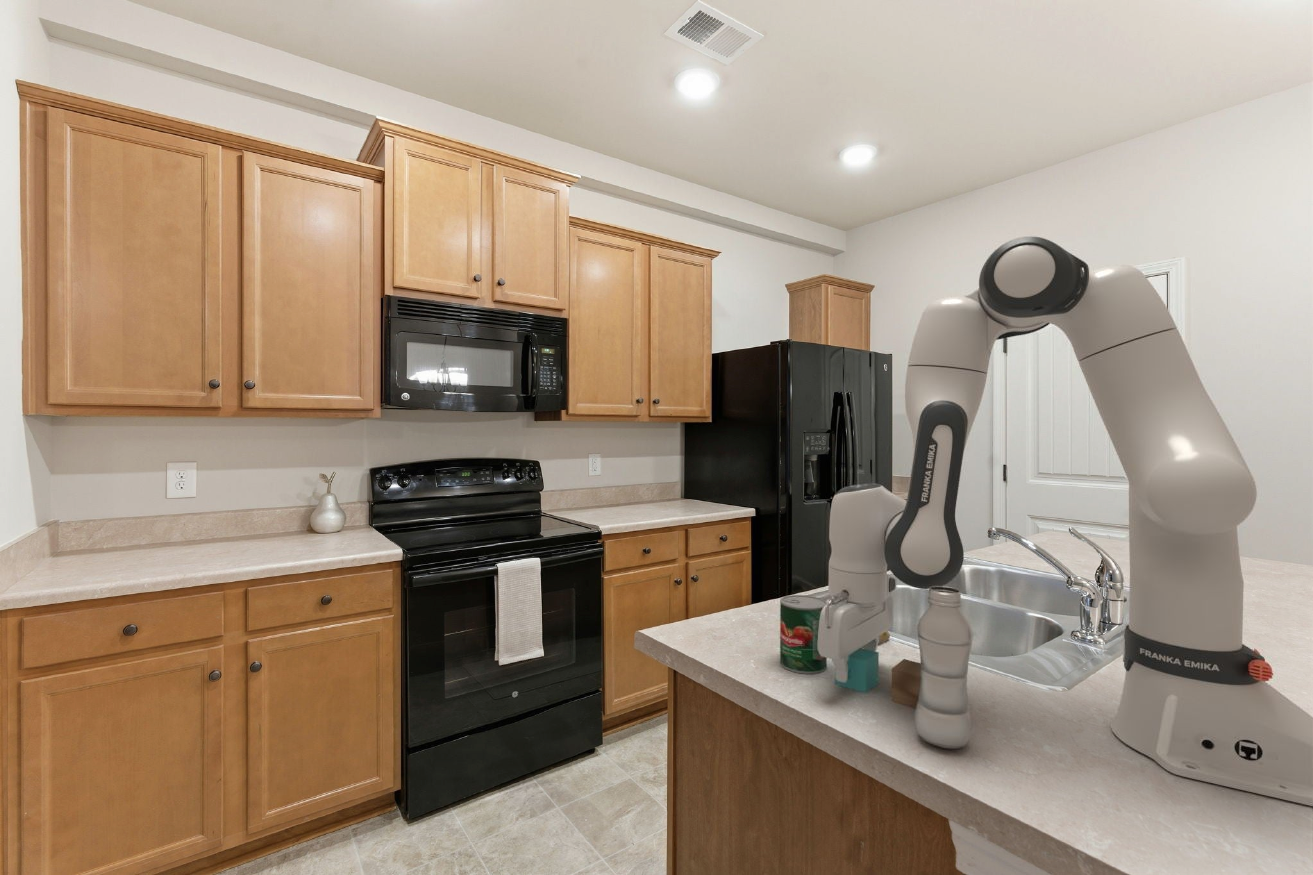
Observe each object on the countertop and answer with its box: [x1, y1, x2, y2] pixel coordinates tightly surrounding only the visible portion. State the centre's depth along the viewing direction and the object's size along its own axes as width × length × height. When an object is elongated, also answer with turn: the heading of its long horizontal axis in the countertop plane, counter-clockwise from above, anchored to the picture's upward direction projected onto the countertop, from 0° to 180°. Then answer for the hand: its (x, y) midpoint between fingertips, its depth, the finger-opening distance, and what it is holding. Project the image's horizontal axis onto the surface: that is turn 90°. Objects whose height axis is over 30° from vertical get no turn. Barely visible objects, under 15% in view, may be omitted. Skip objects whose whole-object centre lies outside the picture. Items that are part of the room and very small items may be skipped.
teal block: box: [834, 647, 880, 694], centre depth 97 cm, size 5×5×5 cm
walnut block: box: [890, 658, 921, 709], centre depth 91 cm, size 5×5×5 cm
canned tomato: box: [779, 594, 828, 675], centre depth 105 cm, size 8×8×11 cm
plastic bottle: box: [914, 585, 974, 750], centre depth 79 cm, size 6×7×20 cm
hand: (856, 671), depth 97 cm, fingers open, 8 cm apart
